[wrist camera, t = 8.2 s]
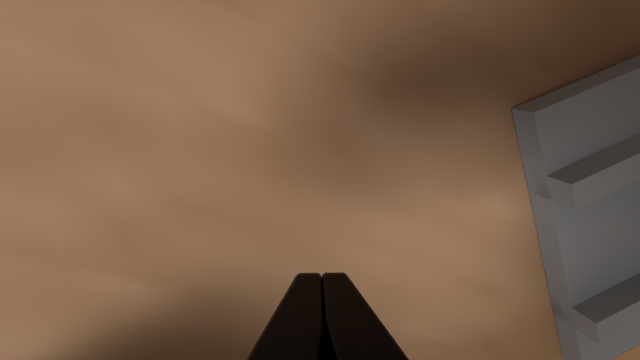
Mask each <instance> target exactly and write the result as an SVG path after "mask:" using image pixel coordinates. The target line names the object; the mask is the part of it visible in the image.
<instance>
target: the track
mask: <svg viewBox="0 0 640 360" xmlns="http://www.w3.org/2000/svg"><path fill="white" fill-rule="evenodd" d="M512 114H513V118H514V123H515V128H516V133H517V138H518V143H519V147H520V152H521V157H522V162H523V167H524V172H525V177H526V181H527V186H528V191H529V196H530V201H531V206H532V210H533V215H534V220H535V225H536V230H537V235H538V239H539V244H540V249H541V254H542V259H543V264H544V268H545V273H546V278H547V283H548V288H549V293H550V298H551V302H552V307H553V312H554V317H555V322H556V327H557V331H558V336H559V341H560V346H561V351H562V356H563V358H565V359H566V360H611V359H613V358H615V357H617V356H619V355H621V354H622V353H624V352H626V351H628V350H630V349H632V348H634V347H635V346H637V345H639V344H640V55H638V56H635V57H633V58H630V59H628V60H626V61H623V62H621V63H619V64H616V65H614V66H611V67H609V68H607V69H604V70H602V71H600V72H597V73H595V74H593V75H590V76H588V77H585V78H583V79H581V80H578V81H576V82H574V83H571V84H569V85H566V86H564V87H562V88H559V89H557V90H555V91H552V92H550V93H548V94H545V95H543V96H540V97H538V98H536V99H533V100H531V101H529V102H526V103H524V104H521V105H519V106H517V107H514V108H512Z"/></svg>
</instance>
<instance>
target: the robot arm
mask: <svg viewBox="0 0 640 360" xmlns="http://www.w3.org/2000/svg"><path fill="white" fill-rule="evenodd" d="M246 360H409V359H408V358H407V356H406V355H405V354H404V352H403V351H402V349H401V348H400V347H399V345H398V344H397V343H396V341H395V340H394V339H393V337H392V336H391V335H390V333H389V332H388V330H387V329H386V328H385V326H384V325H383V324H382V322H381V321H380V320H379V318H378V317H377V315H376V314H375V313H374V311H373V310H372V309H371V307H370V306H369V305H368V303H367V302H366V300H365V299H364V298H363V296H362V295H361V294H360V292H359V291H358V290H357V288H356V287H355V285H354V284H353V283H352V281H351V280H350V279H349V277H348V276H347V275H346V274H345V273H324V274H323V275H322V279H321V275H320V274H319V273H299V274H297V276H296V277H295V278H294V280H293V282H292V284H291V285H290V287H289V289H288V290H287V292H286V294H285V295H284V297H283V299H282V300H281V302H280V304H279V305H278V307H277V309H276V310H275V312H274V314H273V316H272V317H271V319H270V321H269V322H268V324H267V326H266V327H265V329H264V331H263V332H262V334H261V336H260V337H259V339H258V341H257V343H256V344H255V346H254V348H253V349H252V351H251V353H250V354H249V356H248V358H247V359H246Z"/></svg>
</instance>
